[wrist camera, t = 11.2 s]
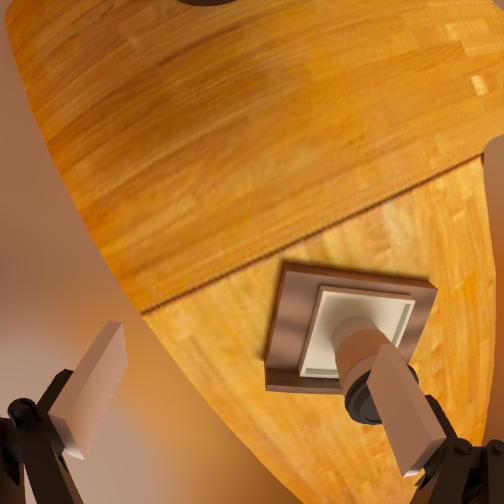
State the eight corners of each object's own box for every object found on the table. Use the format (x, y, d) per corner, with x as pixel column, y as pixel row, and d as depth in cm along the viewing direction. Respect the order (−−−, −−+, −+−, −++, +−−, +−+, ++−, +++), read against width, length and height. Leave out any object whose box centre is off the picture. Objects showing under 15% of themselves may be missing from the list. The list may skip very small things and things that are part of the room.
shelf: (284, 262, 44) (289, 283, 37) (429, 281, 45) (451, 300, 38) (264, 361, 49) (265, 390, 42) (395, 367, 50) (409, 392, 43)
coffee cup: (311, 344, 44) (332, 420, 29) (353, 297, 41) (394, 364, 27) (353, 369, 45) (382, 440, 31) (393, 327, 43) (438, 391, 29)
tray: (320, 285, 41) (323, 291, 40) (410, 295, 42) (415, 300, 40) (298, 369, 46) (299, 376, 44) (380, 372, 47) (383, 378, 45)
